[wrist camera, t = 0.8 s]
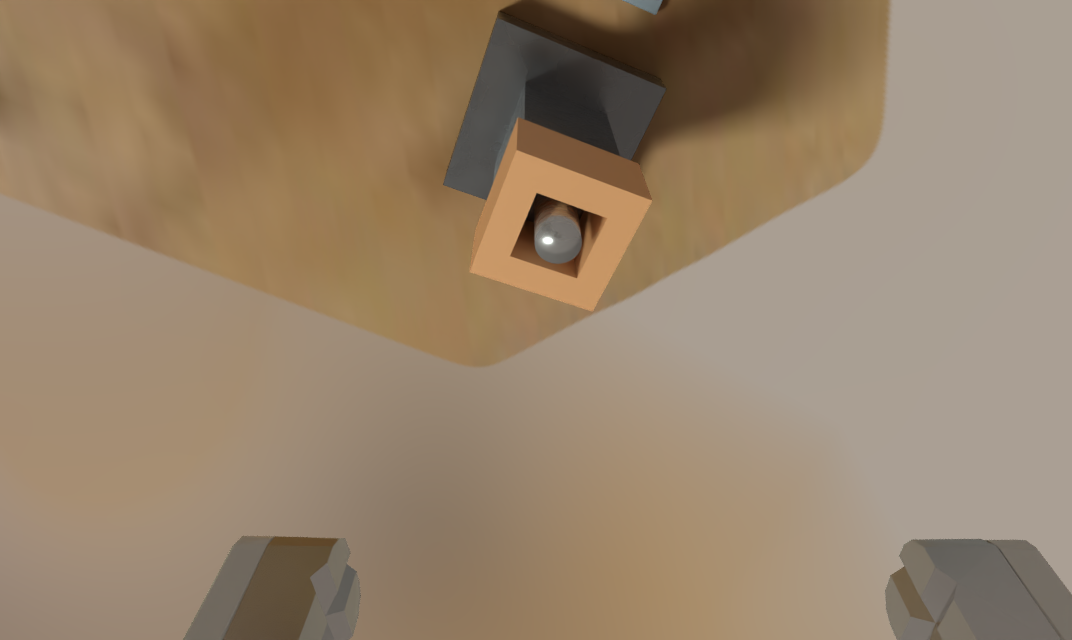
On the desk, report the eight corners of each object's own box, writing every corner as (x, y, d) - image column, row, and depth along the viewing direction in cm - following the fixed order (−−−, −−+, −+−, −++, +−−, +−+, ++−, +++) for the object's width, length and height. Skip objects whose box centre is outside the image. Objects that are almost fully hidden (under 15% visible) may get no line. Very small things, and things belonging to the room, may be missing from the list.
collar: (475, 229, 31) (469, 271, 28) (518, 117, 28) (516, 150, 25) (586, 266, 32) (592, 311, 29) (638, 163, 29) (652, 200, 26)
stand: (446, 171, 40) (412, 299, 28) (498, 10, 34) (483, 85, 23) (589, 222, 42) (613, 361, 30) (660, 79, 37) (722, 179, 25)
